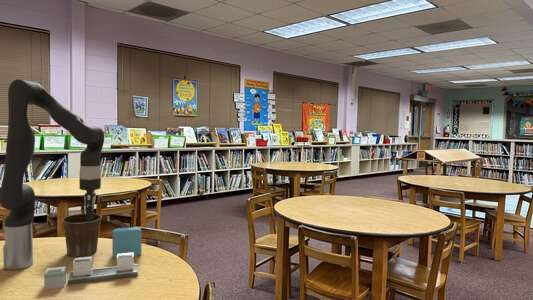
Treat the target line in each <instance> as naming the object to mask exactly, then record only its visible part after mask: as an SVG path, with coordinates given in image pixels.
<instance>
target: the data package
mask: <svg viewBox="0 0 533 300" xmlns="http://www.w3.org/2000/svg"><path fill="white" fill-rule="evenodd" d="M111 236H112V237H111V238H112V246H111V247H112V252H111V253H112V257H113V258H115V259H117V254H122V253H132V252H134V257H137V256H140V255H141V254H142V229H141V227H140V226H134V227H133V226H132V227H119V228H115V229H113V231H112V235H111Z"/></svg>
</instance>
